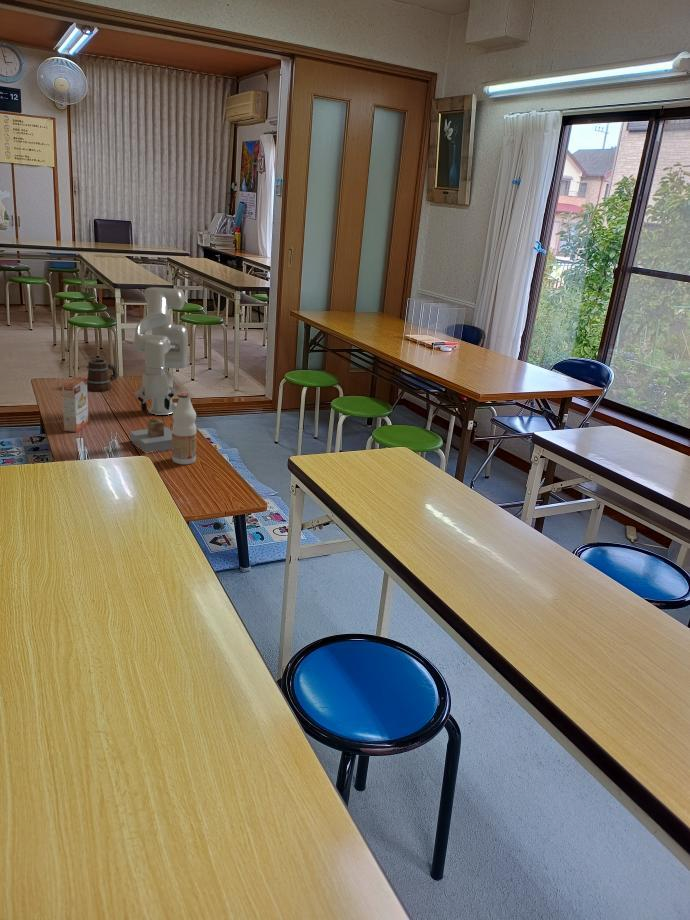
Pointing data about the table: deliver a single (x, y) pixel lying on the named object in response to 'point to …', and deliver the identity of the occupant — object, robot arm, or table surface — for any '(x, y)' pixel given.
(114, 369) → the mug
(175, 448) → the fruit juice
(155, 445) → the grey box
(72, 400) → the cracker box
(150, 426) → the walnut block
